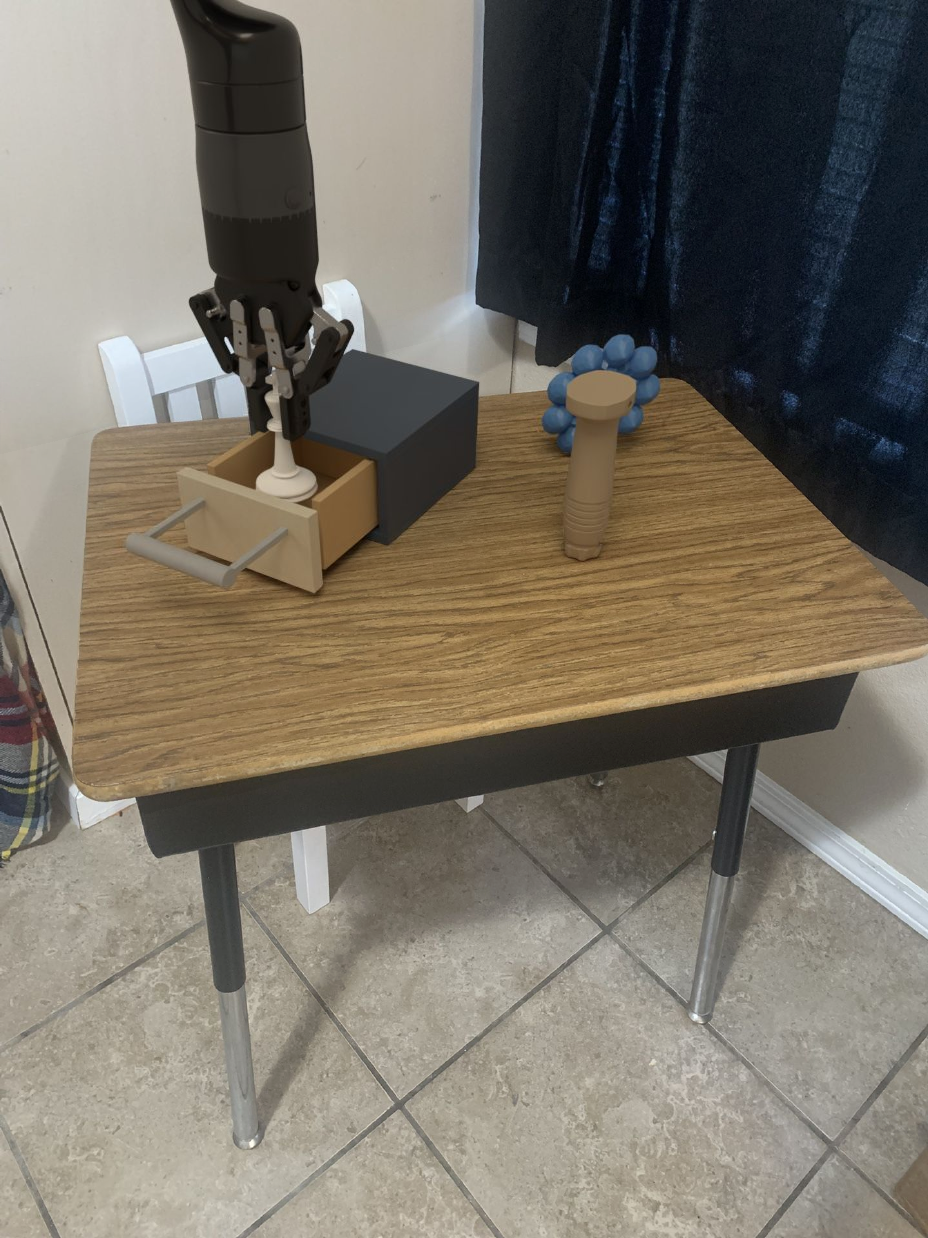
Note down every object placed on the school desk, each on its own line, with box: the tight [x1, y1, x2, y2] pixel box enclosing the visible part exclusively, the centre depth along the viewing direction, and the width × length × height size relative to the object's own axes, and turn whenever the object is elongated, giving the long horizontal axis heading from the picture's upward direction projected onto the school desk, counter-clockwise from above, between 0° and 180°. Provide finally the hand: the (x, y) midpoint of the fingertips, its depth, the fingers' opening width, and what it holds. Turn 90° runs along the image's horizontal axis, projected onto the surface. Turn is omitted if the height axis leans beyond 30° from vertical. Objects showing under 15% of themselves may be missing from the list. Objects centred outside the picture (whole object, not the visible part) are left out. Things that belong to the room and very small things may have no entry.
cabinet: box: [247, 348, 480, 546], centre depth 88 cm, size 16×14×9 cm
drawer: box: [124, 430, 379, 594], centre depth 78 cm, size 22×13×7 cm, turn 151°
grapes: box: [541, 333, 661, 454], centre depth 94 cm, size 12×7×12 cm, turn 103°
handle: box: [562, 370, 636, 562], centre depth 79 cm, size 5×6×15 cm
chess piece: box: [256, 368, 318, 503], centre depth 76 cm, size 5×5×10 cm
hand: (280, 431), depth 76 cm, fingers closed on chess piece
